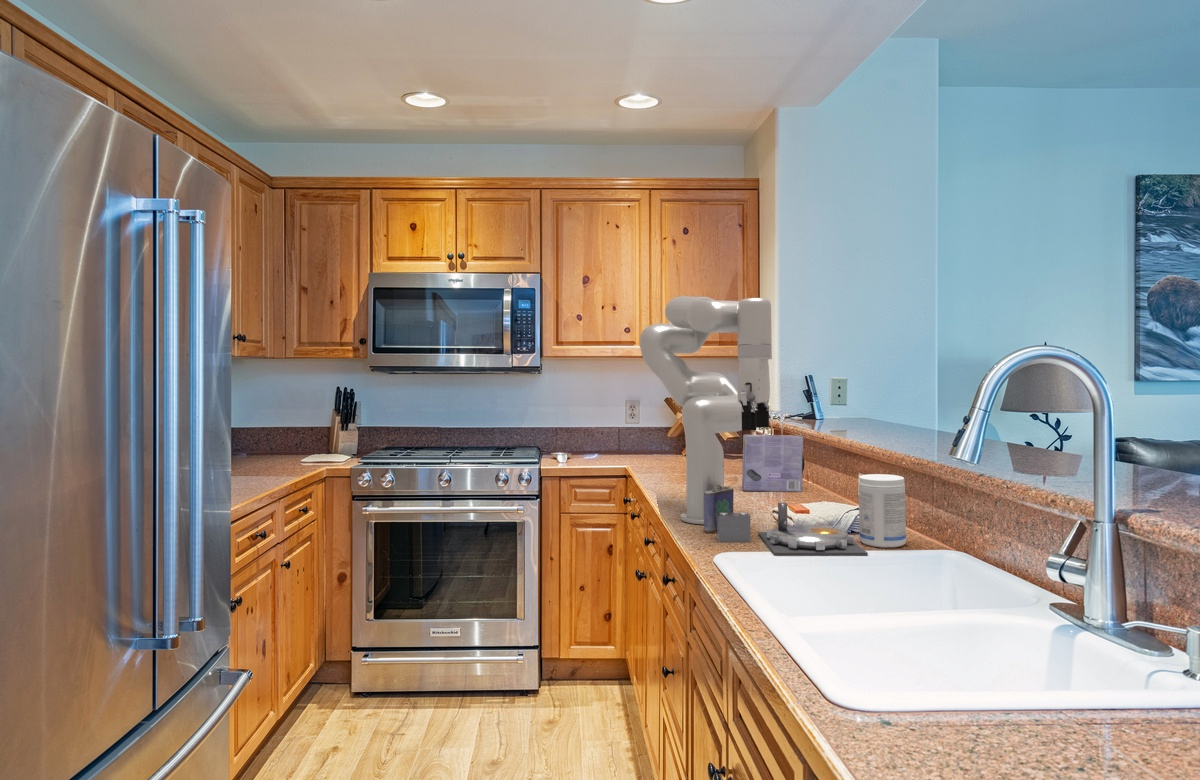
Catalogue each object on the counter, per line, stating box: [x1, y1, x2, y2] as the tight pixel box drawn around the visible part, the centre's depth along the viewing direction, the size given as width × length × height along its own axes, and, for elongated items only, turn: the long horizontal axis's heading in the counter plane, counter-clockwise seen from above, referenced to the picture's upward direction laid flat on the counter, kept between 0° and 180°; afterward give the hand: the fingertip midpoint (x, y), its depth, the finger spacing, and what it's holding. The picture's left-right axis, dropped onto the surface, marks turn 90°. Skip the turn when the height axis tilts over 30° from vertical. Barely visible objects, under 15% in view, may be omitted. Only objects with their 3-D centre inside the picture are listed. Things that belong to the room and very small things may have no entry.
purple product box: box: [741, 434, 806, 493], centre depth 230 cm, size 19×5×18 cm, turn 84°
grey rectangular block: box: [716, 511, 751, 543], centre depth 165 cm, size 4×7×6 cm, turn 88°
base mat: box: [757, 531, 869, 557], centre depth 161 cm, size 19×19×1 cm
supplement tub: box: [858, 473, 907, 549], centre depth 161 cm, size 10×10×15 cm
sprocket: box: [766, 502, 855, 550], centre depth 160 cm, size 18×18×7 cm
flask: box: [703, 481, 735, 534], centre depth 176 cm, size 10×3×12 cm, turn 133°
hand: (755, 428), depth 166 cm, fingers open, 9 cm apart
